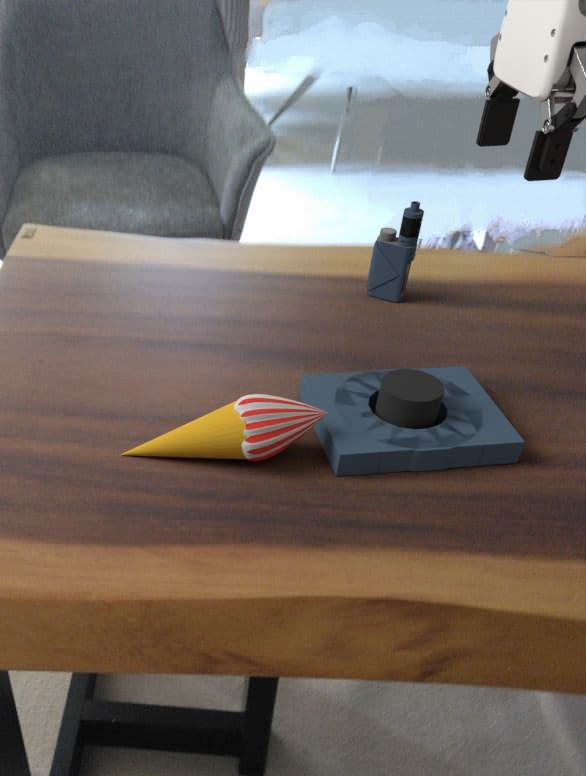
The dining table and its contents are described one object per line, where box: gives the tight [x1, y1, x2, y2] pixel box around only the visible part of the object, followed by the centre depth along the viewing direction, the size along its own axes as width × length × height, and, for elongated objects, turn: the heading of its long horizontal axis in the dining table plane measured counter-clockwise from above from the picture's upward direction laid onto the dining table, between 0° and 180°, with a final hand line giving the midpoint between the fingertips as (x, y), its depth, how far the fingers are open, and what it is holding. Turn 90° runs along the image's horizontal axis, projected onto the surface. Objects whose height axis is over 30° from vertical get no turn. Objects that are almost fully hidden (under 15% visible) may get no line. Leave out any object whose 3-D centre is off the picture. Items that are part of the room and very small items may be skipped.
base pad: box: [298, 365, 526, 477], centre depth 79 cm, size 18×14×2 cm
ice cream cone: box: [120, 393, 328, 462], centre depth 74 cm, size 6×6×20 cm
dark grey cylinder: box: [373, 368, 445, 429], centre depth 78 cm, size 6×6×5 cm
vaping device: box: [365, 200, 425, 303], centre depth 98 cm, size 3×5×12 cm, turn 58°
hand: (515, 161), depth 73 cm, fingers open, 9 cm apart
